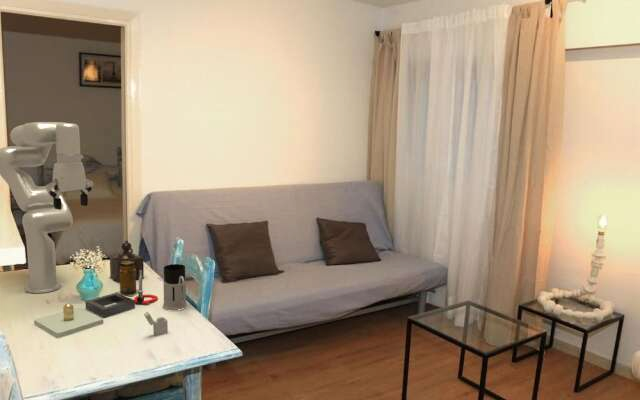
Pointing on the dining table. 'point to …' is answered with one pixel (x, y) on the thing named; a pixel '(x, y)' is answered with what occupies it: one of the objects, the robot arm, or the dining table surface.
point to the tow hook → (140, 297)
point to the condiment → (128, 279)
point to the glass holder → (174, 287)
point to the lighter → (157, 324)
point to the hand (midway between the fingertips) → (71, 207)
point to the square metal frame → (121, 306)
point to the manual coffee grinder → (125, 256)
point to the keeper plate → (68, 322)
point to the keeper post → (68, 312)
